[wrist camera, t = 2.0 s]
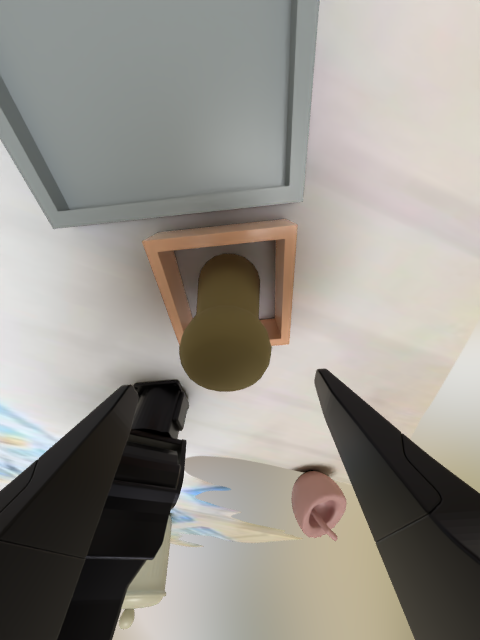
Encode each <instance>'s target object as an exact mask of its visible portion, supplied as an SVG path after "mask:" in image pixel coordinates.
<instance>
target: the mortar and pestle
mask: <svg viewBox="0 0 480 640" xmlns="http://www.w3.org/2000/svg"><path fill="white" fill-rule="evenodd" d="M292 507H293V512H294V514H295V518H296V520H297V522H298V524H299V526H300V528H301V529H302V531H303V532H304V533H305V534H306V535H307V536H308V537H314V538H316V537H321V536H322V535H325V534H328V535H329V536H330V537H331V538H332V539H333V540H334V541H336V540H337V536H336V534H335V533H334V532H333V531H331V529H332V528H334V527H335V525H336V524H337V523H338V522H339V520H340V519H341V517H342V516H343V514H344V512H345V508H346V498H345V496H344V495H343V492H342V491H341V489H340V488H339V486H338V485H337V484H336V483H335V482H334V481H333V480H332V479H331V478H330V477H328V476H327V475H325V474H323V473H321V472H317V471H309V472H305V473H303V474H302V475H301V476H300V477H299V478H298V479H297V480H296V482H295V484H294V486H293V491H292Z"/></svg>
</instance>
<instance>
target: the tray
mask: <svg viewBox="0 0 480 640" xmlns="http://www.w3.org/2000/svg"><path fill="white" fill-rule="evenodd" d="M318 11H319V0H0V139H1V141H2V143H3V144H4V146H5V148H6V150H7V151H8V153H9V155H10V156H11V158H12V160H13V161H14V163H15V165H16V166H17V168H18V170H19V172H20V173H21V175H22V177H23V178H24V180H25V182H26V183H27V185H28V187H29V188H30V190H31V192H32V194H33V195H34V197H35V199H36V200H37V202H38V204H39V205H40V207H41V209H42V210H43V212H44V214H45V216H46V217H47V219H48V221H49V222H50V224H51V226H52V227H53V229H57V228H66V227H75V226H84V225H93V224H102V223H112V222H121V221H130V220H139V219H148V218H158V217H167V216H176V215H185V214H194V213H203V212H213V211H222V210H231V209H240V208H249V207H259V206H268V205H277V204H286V203H295V202H303V196H304V184H305V171H306V159H307V147H308V134H309V122H310V110H311V97H312V85H313V73H314V60H315V48H316V35H317V23H318Z"/></svg>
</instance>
